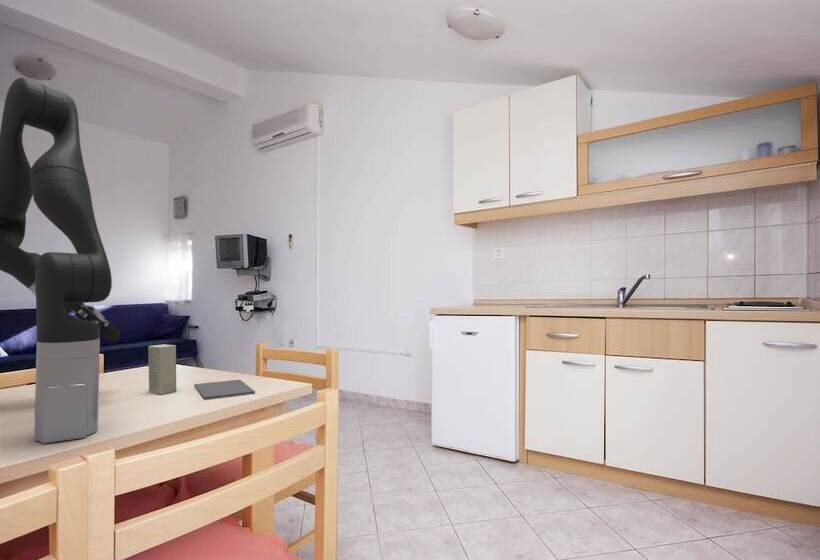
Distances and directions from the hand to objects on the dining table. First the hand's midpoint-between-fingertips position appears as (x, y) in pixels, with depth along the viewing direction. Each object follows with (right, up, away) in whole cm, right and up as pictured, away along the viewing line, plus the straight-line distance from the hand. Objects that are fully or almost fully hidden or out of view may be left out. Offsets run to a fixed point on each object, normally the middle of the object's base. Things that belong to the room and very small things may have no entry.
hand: (117, 338), depth 110 cm
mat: (+23, -15, +8) cm, 29 cm away
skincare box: (+8, -15, +5) cm, 18 cm away
